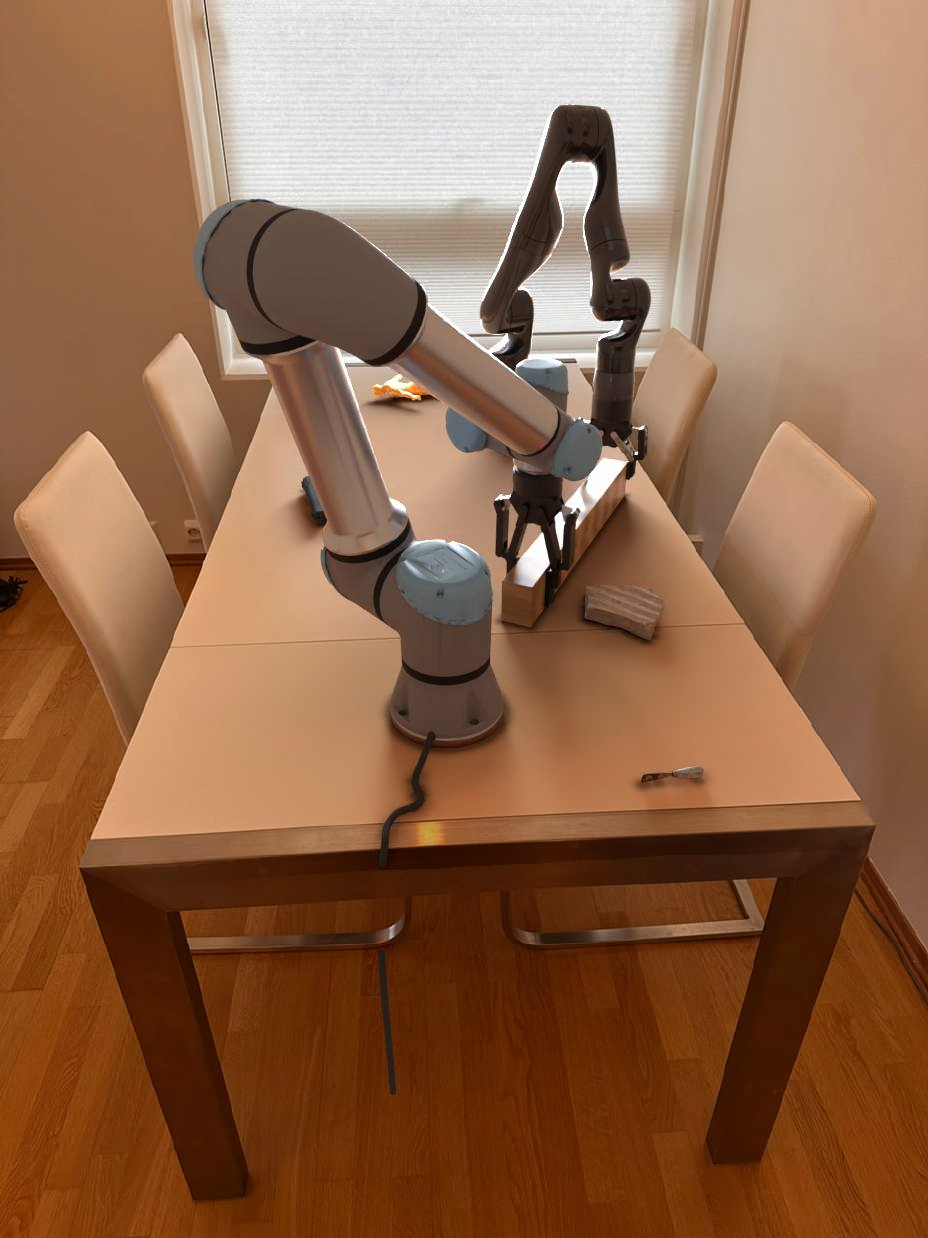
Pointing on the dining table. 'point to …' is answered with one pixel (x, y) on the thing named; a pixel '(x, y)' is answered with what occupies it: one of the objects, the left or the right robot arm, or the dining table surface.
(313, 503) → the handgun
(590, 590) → the stone
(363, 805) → the dining table surface
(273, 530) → the dining table surface
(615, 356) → the right robot arm
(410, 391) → the human figure
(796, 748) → the dining table surface
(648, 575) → the dining table surface
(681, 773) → the putty knife
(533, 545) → the post
